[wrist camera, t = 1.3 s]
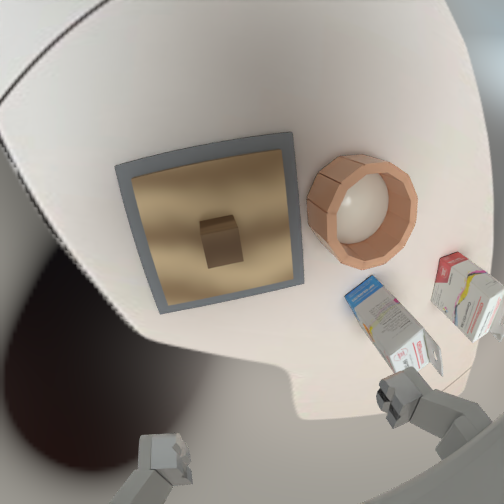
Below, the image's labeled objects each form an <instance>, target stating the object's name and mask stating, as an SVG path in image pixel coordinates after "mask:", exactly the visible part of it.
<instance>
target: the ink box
mask: <svg viewBox="0 0 504 504" xmlns="http://www.w3.org/2000/svg"><path fill="white" fill-rule="evenodd" d="M345 298H346V300H347V302H348V303H349V305H350V307H351V309H352V310H353V312H354V314H355V316H356V318H357V320H358V322H359V324H360V325H361V327H362V329H363V330H364V332H365V333H366V334H367V336H368V337H369V339H370V340H371V341H372V343H373V344H374V345H375V347H376V348H377V350H378V351H379V352H380V354H381V355H382V357H383V358H384V359H385V361H386V362H387V364H388V365H389V367H390V368H391V369H392V371H393V372H394V374H395V373H397V372H399V371H402V370H404V369H406V368H408V367H411V366H412V367H414V368H415V369H416V370H417V372H418V371H419V370H420V369H422V368H423V367H424V366H426V365H427V364H428V363H429V362H431V364H432V365H433V366H434V367H435V369H436V370H437V371H438V372H439V374H440V375H441V376H442V377H443V365H442V357H441V350H440V347H439V346H438V345H437V344H436V342H435V341H434V340H433V339H432V337H431V336H430V335H429V334H428V333H427V331H426V330H425V329H424V327H423V326H422V325H421V324H420V323H419V322H418V321H417V320H416V319H415V318H414V317H413V316H412V315H411V314H410V313H409V312H408V311H407V310H406V309H405V307H404V306H403V305H402V304H401V303H400V302H399V301H398V300H397V299H396V298H395V297H394V296H393V295H392V294H391V293H390V292H389V291H388V290H387V289H386V288H385V287H384V286H383V285H382V284H381V283H380V282H379V281H378V280H377V279H376V278H375V277H374V276H371V277H369V278H368V279H367V280H365V281H364V282H363V283H362V284H360V285H359V286H358V287H356V288H355V289H354V290H352V291H351V292H350V293H349V294H347V295H345ZM434 351H435V353H436V357H437V359H438V360H437V361H436V360H435V357H434Z"/></svg>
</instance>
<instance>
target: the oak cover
mask: <svg viewBox="0 0 504 504" xmlns="http://www.w3.org/2000/svg"><path fill="white" fill-rule="evenodd" d="M131 182H132V186H133V190H134V194H135V198H136V202H137V206H138V209H139V213H140V217H141V221H142V224H143V228H144V231H145V235H146V238H147V242H148V245H149V248H150V252H151V255H152V258H153V261H154V265H155V268H156V271H157V274H158V277H159V280H160V283H161V286H162V289H163V292H164V295H165V298H166V301H167V303H168V306H169V305H175V304H180V303H185V302H190V301H195V300H200V299H205V298H210V297H214V296H219V295H224V294H229V293H233V292H238V291H243V290H247V289H252V288H256V287H261V286H265V285H270V284H274V283H279V282H283V281H287V280H292V279H293V265H292V252H291V240H290V228H289V217H288V206H287V196H286V186H285V177H284V167H283V158H282V150H281V149H276V150H268V151H261V152H254V153H248V154H242V155H236V156H230V157H224V158H219V159H213V160H208V161H203V162H198V163H193V164H188V165H183V166H179V167H174V168H170V169H165V170H161V171H157V172H153V173H149V174H144V175H141V176H137V177H133V178H132V179H131Z"/></svg>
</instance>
